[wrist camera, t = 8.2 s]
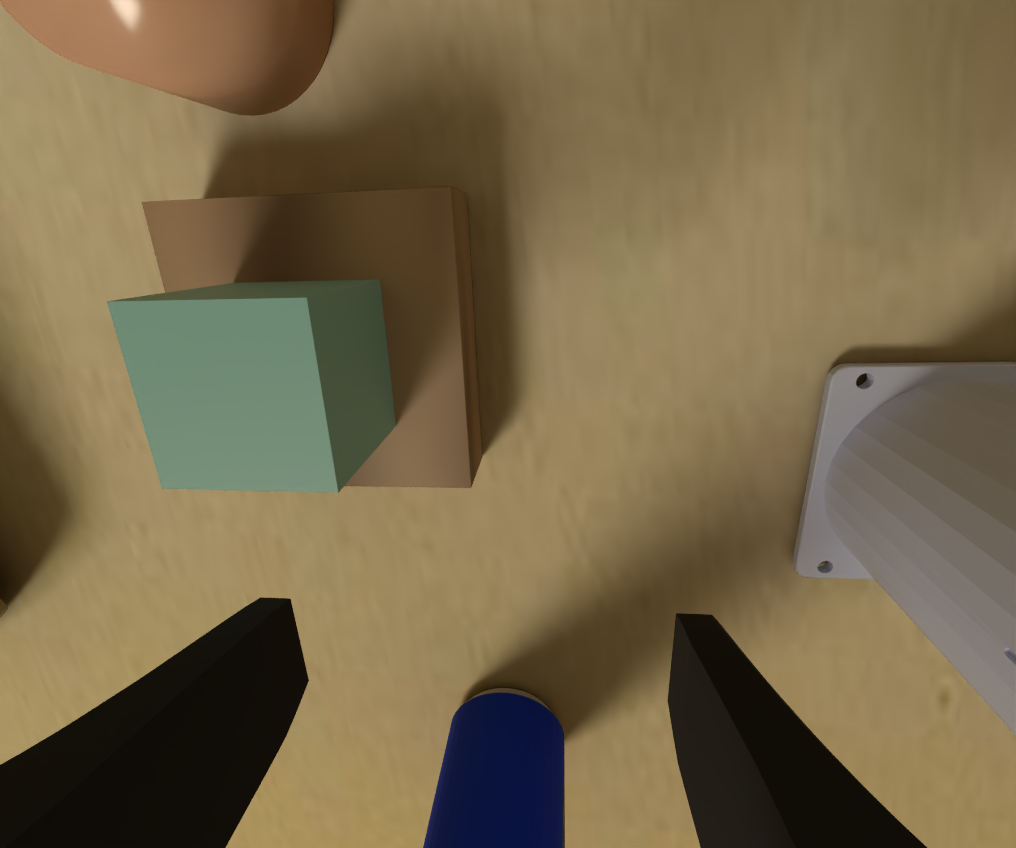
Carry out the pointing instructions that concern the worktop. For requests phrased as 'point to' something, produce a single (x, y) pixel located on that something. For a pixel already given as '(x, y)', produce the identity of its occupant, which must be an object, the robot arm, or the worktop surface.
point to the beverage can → (501, 776)
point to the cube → (259, 382)
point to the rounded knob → (192, 45)
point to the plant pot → (2, 608)
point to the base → (360, 256)
